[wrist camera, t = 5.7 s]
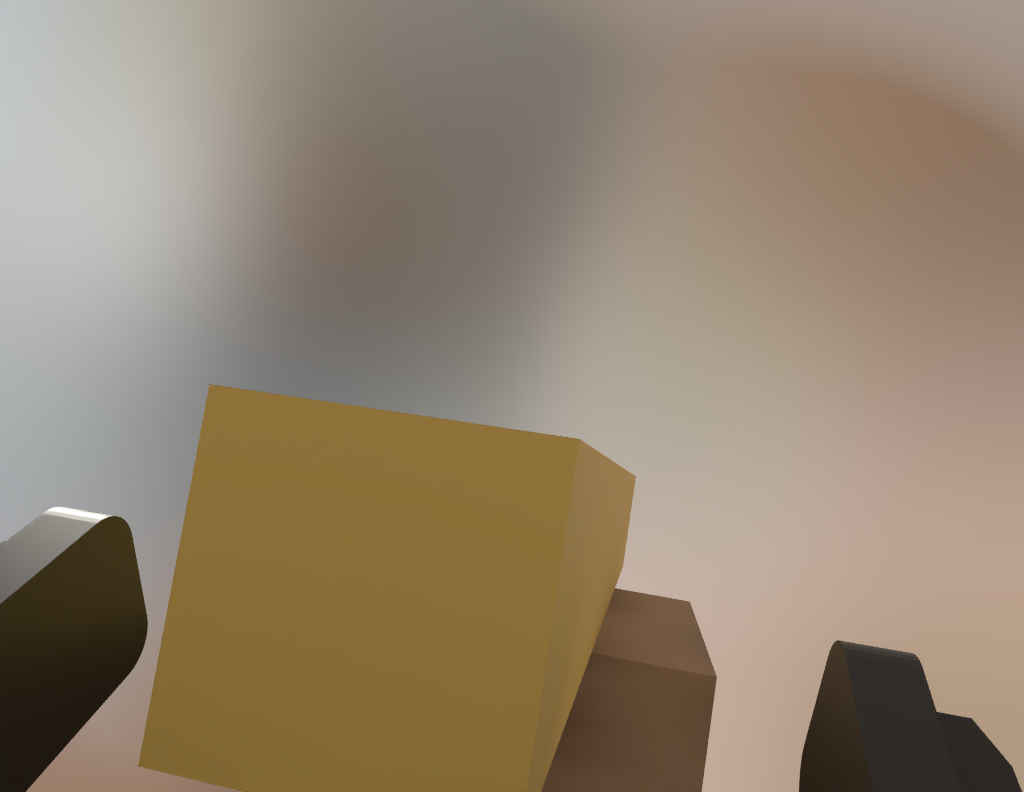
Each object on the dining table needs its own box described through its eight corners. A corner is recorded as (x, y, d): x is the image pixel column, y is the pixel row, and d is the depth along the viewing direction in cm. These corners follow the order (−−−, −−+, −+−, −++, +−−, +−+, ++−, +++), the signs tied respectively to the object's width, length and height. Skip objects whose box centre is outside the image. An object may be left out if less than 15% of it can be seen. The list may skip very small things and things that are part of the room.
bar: (139, 766, 8) (209, 384, 8) (534, 550, 33) (548, 462, 33) (516, 856, 7) (579, 439, 7) (623, 565, 32) (635, 476, 33)
